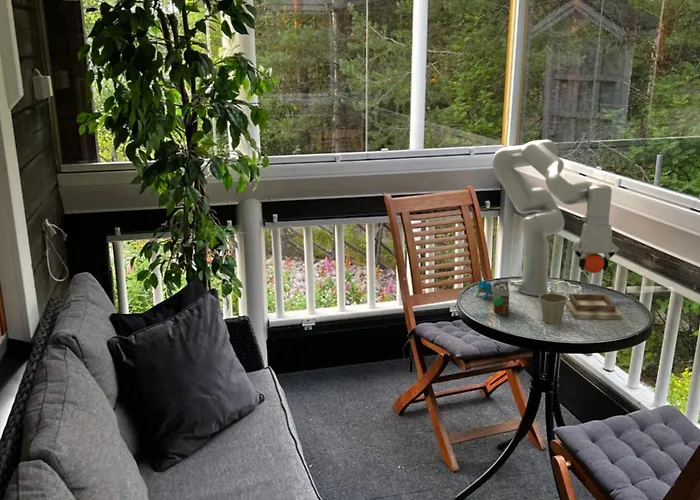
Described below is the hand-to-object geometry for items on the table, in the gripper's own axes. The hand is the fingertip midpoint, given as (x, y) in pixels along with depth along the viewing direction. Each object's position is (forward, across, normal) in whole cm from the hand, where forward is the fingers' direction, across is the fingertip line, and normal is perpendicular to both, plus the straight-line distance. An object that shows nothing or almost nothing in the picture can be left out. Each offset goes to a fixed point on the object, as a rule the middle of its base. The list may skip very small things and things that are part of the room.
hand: (593, 268), depth 222 cm
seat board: (+15, 0, 0) cm, 15 cm away
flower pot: (+15, -15, -13) cm, 25 cm away
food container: (+16, -32, -4) cm, 36 cm away
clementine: (+2, 0, 0) cm, 2 cm away
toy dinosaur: (+16, -35, +11) cm, 40 cm away
